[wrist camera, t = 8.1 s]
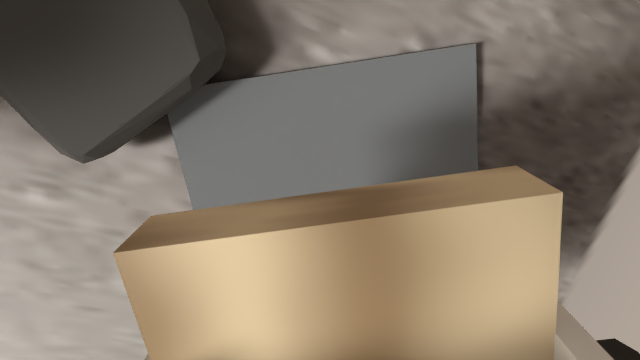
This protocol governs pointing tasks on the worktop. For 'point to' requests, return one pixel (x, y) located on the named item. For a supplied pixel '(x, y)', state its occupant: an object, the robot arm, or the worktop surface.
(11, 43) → the spray bottle
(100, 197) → the worktop surface
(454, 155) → the mat
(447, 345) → the lid
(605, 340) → the robot arm
